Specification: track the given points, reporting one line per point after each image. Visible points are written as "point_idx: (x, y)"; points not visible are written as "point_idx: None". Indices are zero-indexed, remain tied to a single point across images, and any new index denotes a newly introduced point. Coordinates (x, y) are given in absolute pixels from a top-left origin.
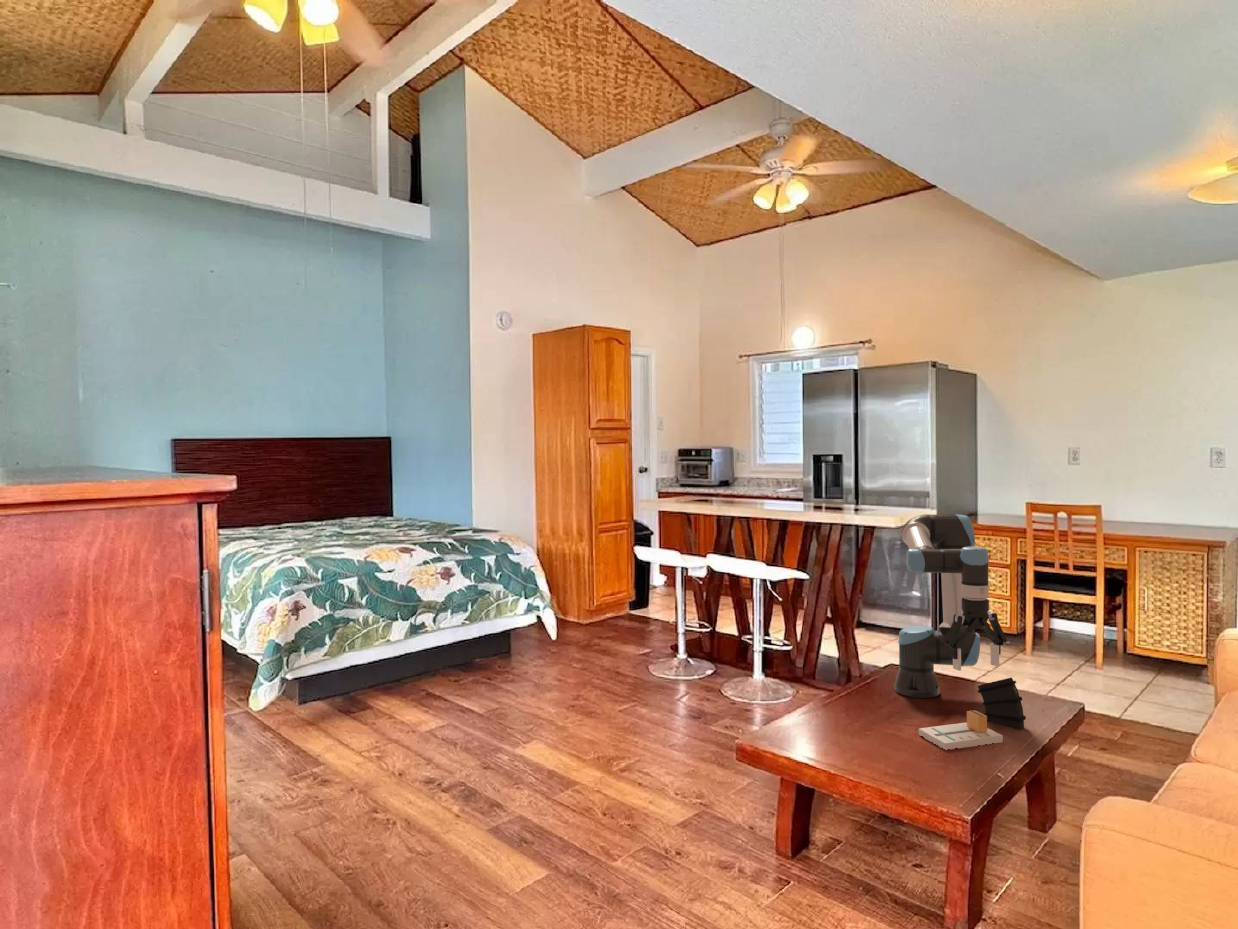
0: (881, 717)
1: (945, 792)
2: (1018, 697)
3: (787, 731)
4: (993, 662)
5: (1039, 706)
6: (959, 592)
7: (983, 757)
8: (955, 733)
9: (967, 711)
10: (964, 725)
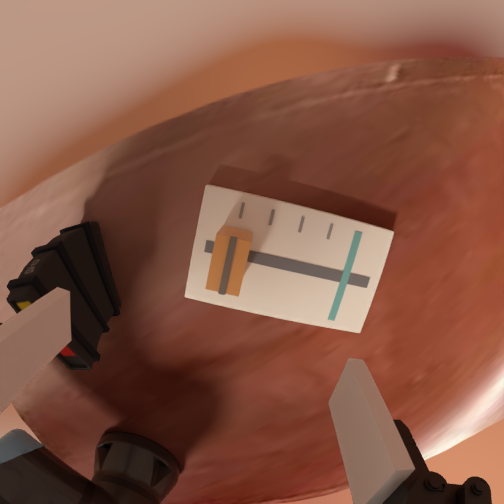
0: (325, 423)
1: None
2: (41, 253)
3: (487, 412)
4: (60, 328)
5: None
6: None
7: (345, 147)
8: (311, 264)
9: (238, 294)
10: None
